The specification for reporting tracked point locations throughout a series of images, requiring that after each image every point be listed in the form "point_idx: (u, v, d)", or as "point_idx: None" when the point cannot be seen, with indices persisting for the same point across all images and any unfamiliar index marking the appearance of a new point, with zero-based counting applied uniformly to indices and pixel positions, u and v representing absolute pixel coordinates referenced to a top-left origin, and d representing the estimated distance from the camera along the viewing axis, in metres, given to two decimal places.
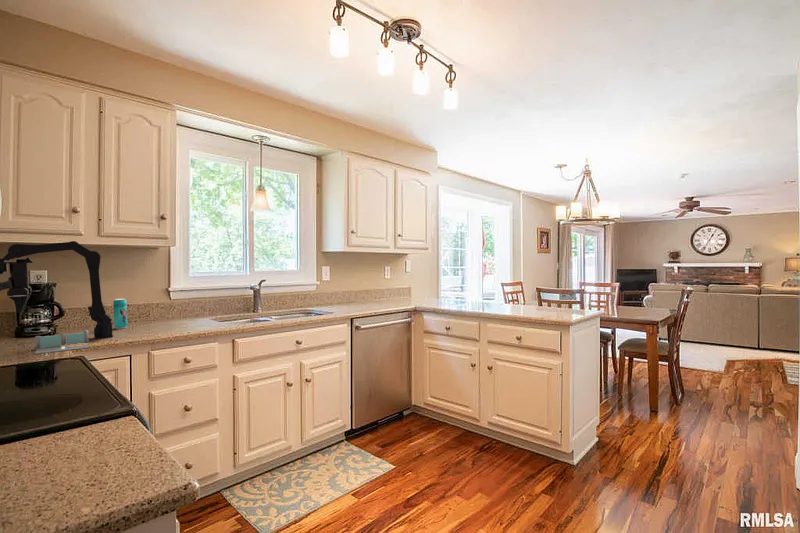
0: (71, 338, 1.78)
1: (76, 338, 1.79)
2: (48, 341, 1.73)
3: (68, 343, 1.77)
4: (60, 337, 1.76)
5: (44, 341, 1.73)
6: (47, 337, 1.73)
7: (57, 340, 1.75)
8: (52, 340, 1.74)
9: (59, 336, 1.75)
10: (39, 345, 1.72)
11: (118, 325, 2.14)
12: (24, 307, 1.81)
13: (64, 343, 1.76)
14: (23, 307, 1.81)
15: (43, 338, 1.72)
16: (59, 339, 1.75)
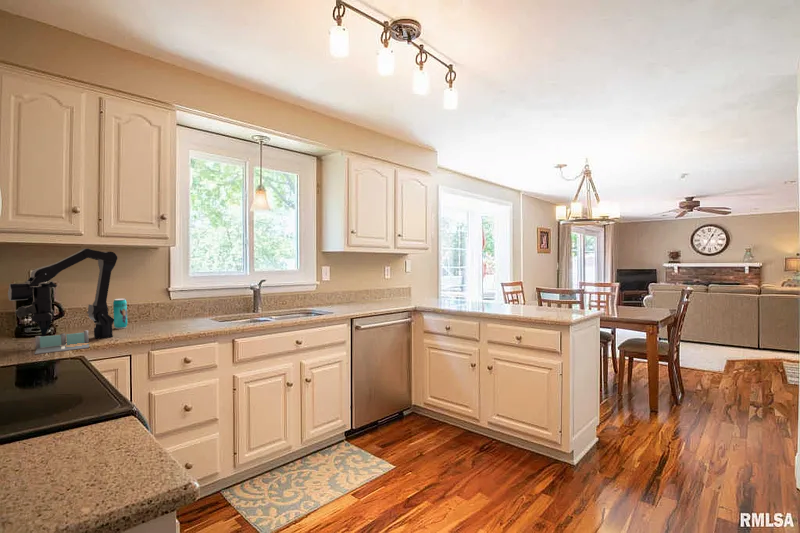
0: (71, 338, 1.78)
1: (76, 338, 1.79)
2: (48, 341, 1.73)
3: (68, 343, 1.77)
4: (60, 337, 1.76)
5: (44, 341, 1.73)
6: (47, 337, 1.73)
7: (57, 340, 1.75)
8: (52, 340, 1.74)
9: (59, 336, 1.75)
10: (39, 345, 1.72)
11: (118, 325, 2.14)
12: (46, 332, 1.78)
13: (64, 343, 1.76)
14: (45, 332, 1.78)
15: (43, 338, 1.72)
16: (59, 339, 1.75)
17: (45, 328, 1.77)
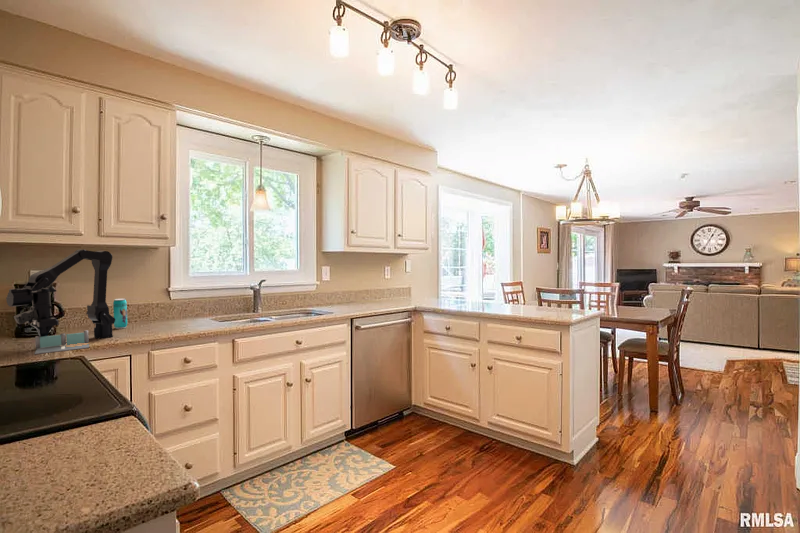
0: (71, 338, 1.78)
1: (76, 338, 1.79)
2: (48, 341, 1.73)
3: (68, 343, 1.77)
4: (60, 337, 1.76)
5: (44, 341, 1.72)
6: (47, 337, 1.73)
7: (57, 340, 1.75)
8: (52, 340, 1.74)
9: (59, 336, 1.75)
10: (39, 345, 1.71)
11: (118, 325, 2.14)
12: None
13: (64, 343, 1.76)
14: None
15: (43, 338, 1.72)
16: (59, 339, 1.75)
17: (45, 334, 1.74)
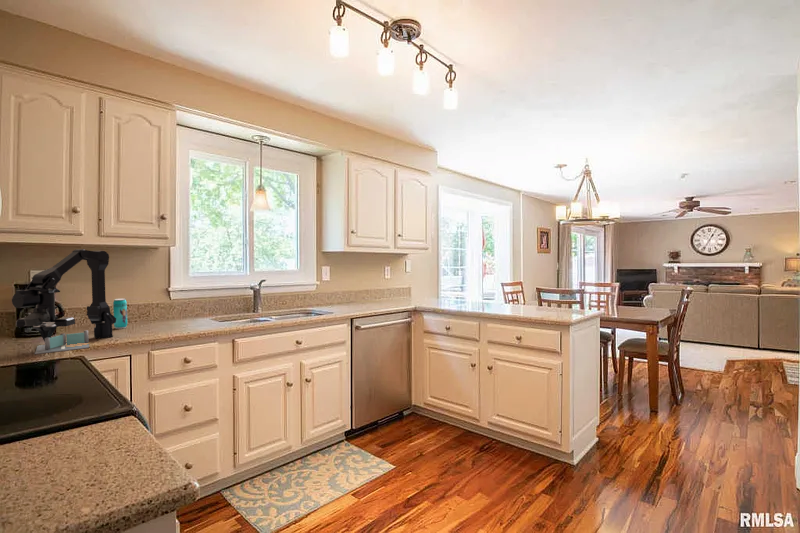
0: (71, 338, 1.78)
1: (76, 338, 1.79)
2: (55, 342, 1.72)
3: (68, 343, 1.77)
4: (62, 337, 1.76)
5: (52, 342, 1.71)
6: (54, 338, 1.71)
7: (60, 340, 1.75)
8: (57, 340, 1.73)
9: (62, 336, 1.75)
10: (49, 346, 1.69)
11: (118, 325, 2.14)
12: None
13: (65, 343, 1.77)
14: None
15: (52, 339, 1.70)
16: (62, 339, 1.75)
17: (50, 335, 1.71)
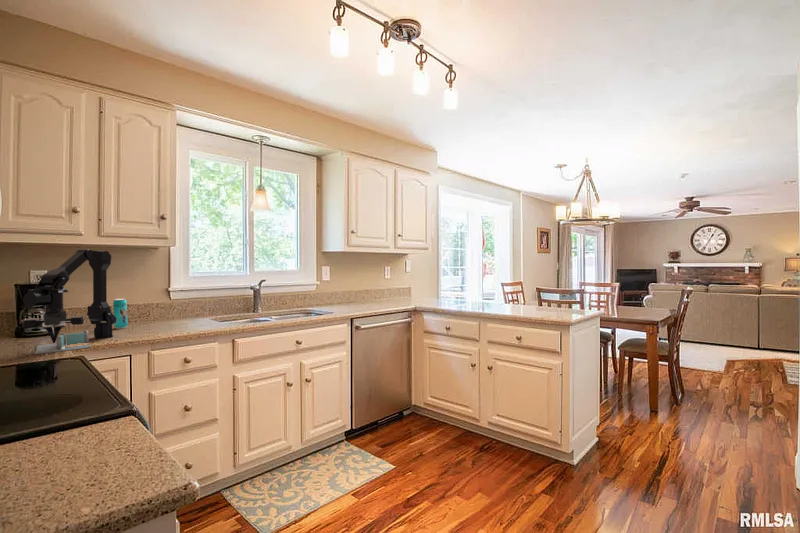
0: (71, 338, 1.78)
1: (76, 338, 1.79)
2: (62, 341, 1.73)
3: (68, 343, 1.77)
4: (64, 337, 1.76)
5: (61, 341, 1.72)
6: (62, 337, 1.72)
7: (63, 340, 1.75)
8: (63, 340, 1.74)
9: (63, 336, 1.76)
10: None
11: (118, 325, 2.14)
12: None
13: None
14: None
15: (61, 338, 1.71)
16: (64, 339, 1.76)
17: (57, 334, 1.71)
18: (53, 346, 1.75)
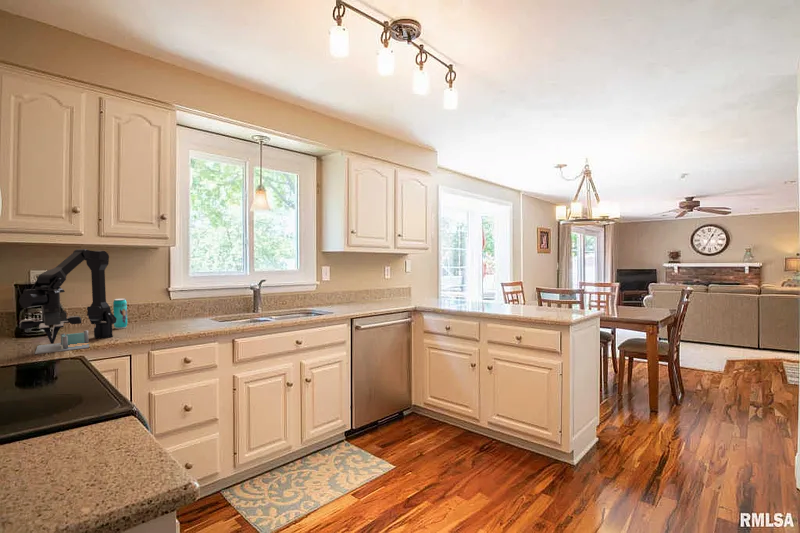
0: (71, 338, 1.78)
1: (76, 338, 1.79)
2: None
3: (68, 343, 1.77)
4: None
5: None
6: None
7: None
8: None
9: (64, 336, 1.76)
10: None
11: (118, 325, 2.14)
12: (50, 341, 1.69)
13: None
14: None
15: None
16: None
17: (55, 335, 1.70)
18: (53, 346, 1.75)
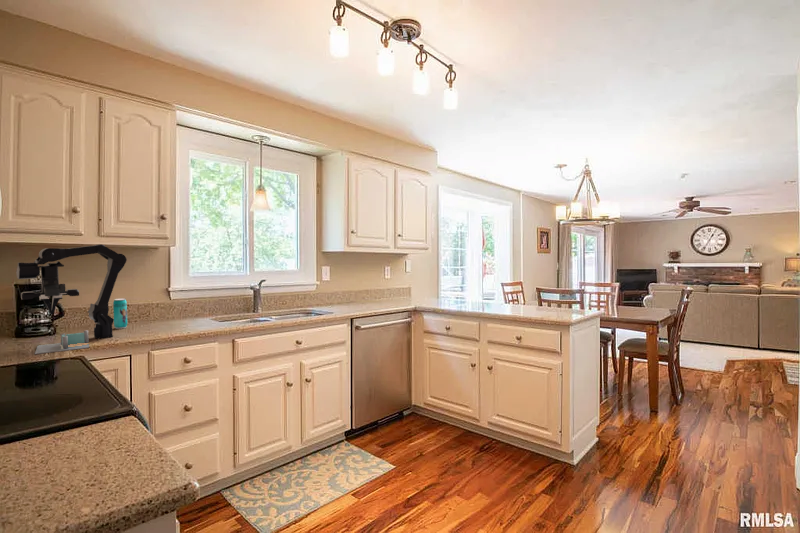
0: (71, 338, 1.78)
1: (76, 338, 1.79)
2: None
3: (68, 343, 1.77)
4: None
5: None
6: None
7: None
8: None
9: (64, 336, 1.76)
10: None
11: (118, 325, 2.14)
12: (50, 311, 1.80)
13: None
14: None
15: None
16: None
17: (55, 306, 1.81)
18: (53, 346, 1.75)
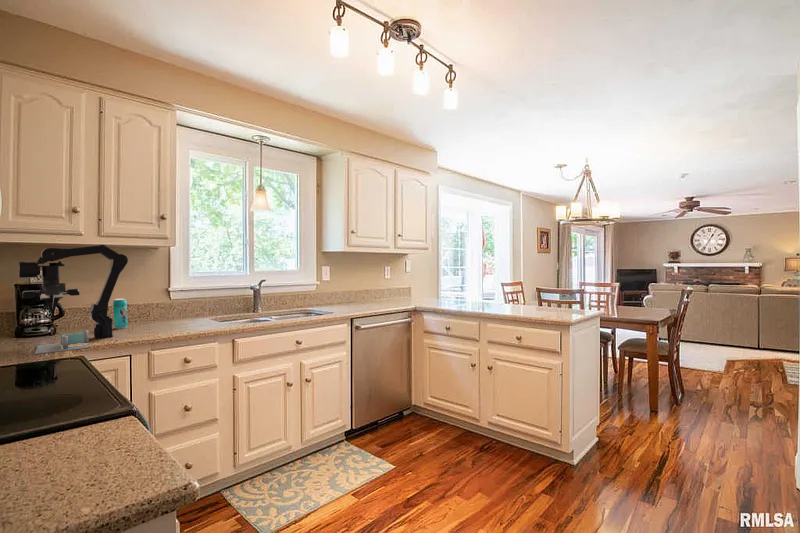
0: (71, 338, 1.78)
1: (76, 338, 1.79)
2: None
3: (68, 343, 1.77)
4: None
5: None
6: None
7: None
8: None
9: (64, 336, 1.76)
10: None
11: (118, 325, 2.14)
12: None
13: None
14: None
15: None
16: None
17: (55, 305, 1.83)
18: (53, 346, 1.75)
